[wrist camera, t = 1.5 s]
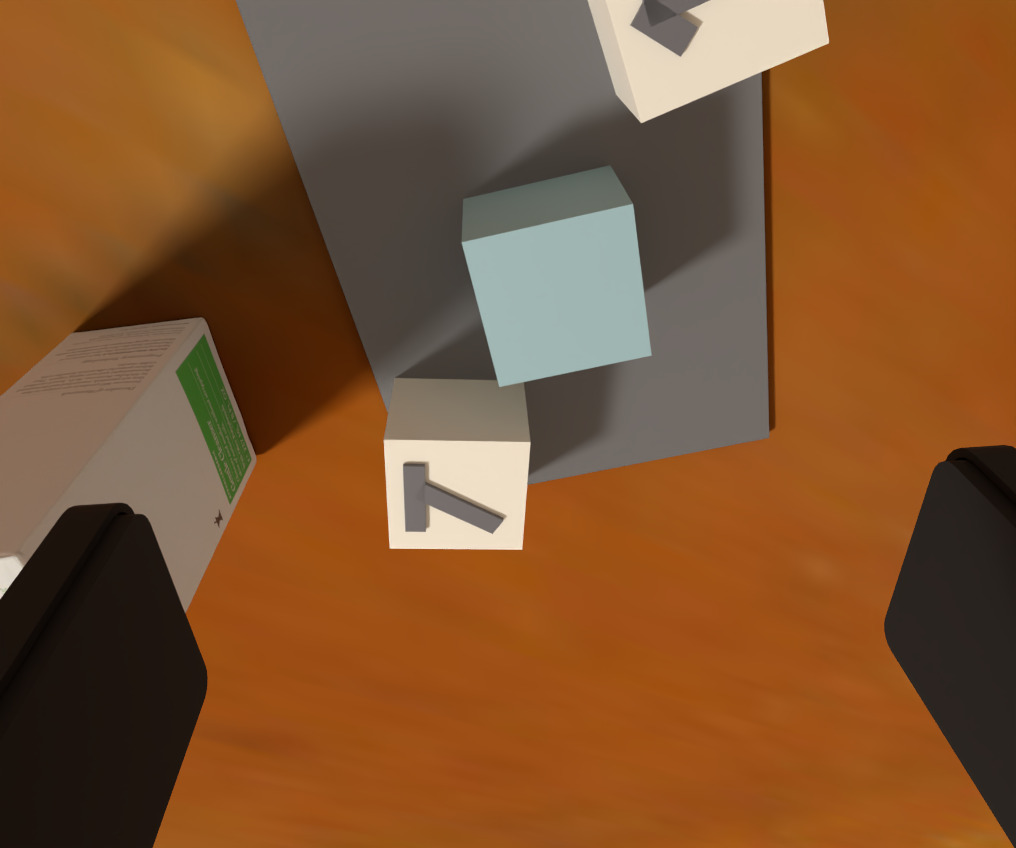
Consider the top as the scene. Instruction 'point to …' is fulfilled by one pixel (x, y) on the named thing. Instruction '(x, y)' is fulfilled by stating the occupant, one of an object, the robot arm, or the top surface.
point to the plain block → (557, 275)
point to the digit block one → (698, 45)
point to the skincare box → (125, 442)
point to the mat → (515, 162)
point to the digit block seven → (456, 464)
